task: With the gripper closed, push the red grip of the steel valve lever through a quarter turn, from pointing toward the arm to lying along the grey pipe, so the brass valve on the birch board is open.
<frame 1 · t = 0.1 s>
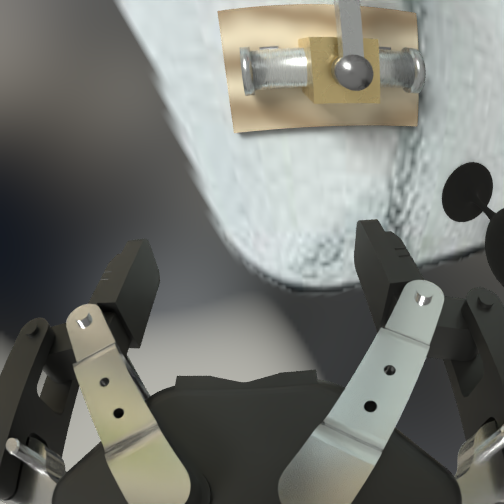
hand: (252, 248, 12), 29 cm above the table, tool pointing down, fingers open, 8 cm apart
valve: (336, 67, 28), on the mounting board, point 6 cm above the table
wine glass: (467, 191, 42), on the table
mounting board: (325, 64, 32), on the table
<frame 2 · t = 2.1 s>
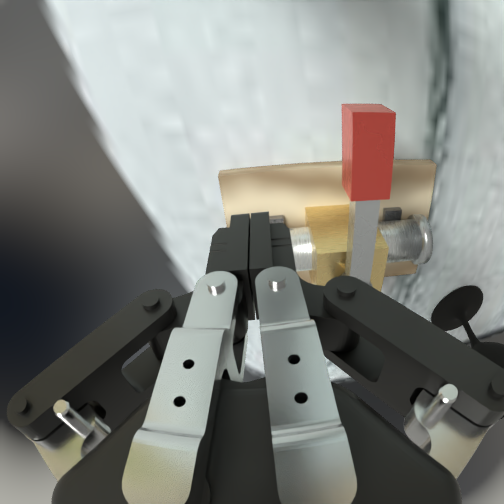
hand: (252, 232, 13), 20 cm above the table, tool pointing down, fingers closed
valve: (342, 252, 32), on the mounting board, point 6 cm above the table
valve lever: (362, 222, 23), point 11 cm above the table, hinge at 0.0°
wine glass: (457, 307, 45), on the table
mounting board: (331, 223, 36), on the table
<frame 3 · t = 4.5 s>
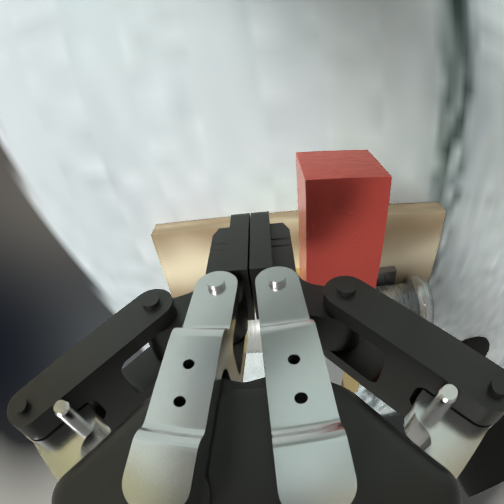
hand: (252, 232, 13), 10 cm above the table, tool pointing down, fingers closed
valve: (312, 332, 24), on the mounting board, point 6 cm above the table
valve lever: (330, 329, 16), point 11 cm above the table, hinge at 0.7°, touching gripper
wine glass: (458, 358, 38), on the table
mounting board: (304, 284, 29), on the table
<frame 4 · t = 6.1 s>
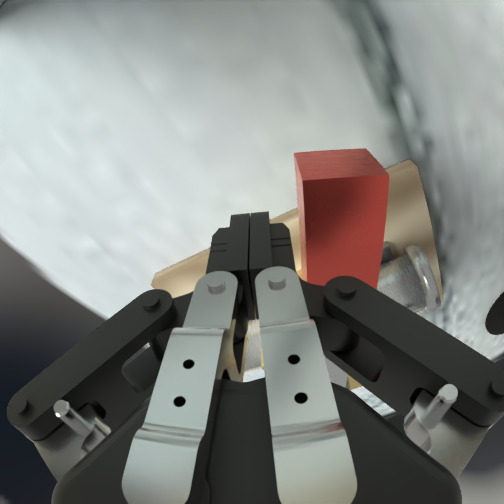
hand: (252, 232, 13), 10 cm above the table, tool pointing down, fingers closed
valve: (317, 332, 24), on the mounting board, point 6 cm above the table
valve lever: (333, 329, 15), point 11 cm above the table, hinge at 21.5°, touching gripper
mounting board: (309, 284, 28), on the table
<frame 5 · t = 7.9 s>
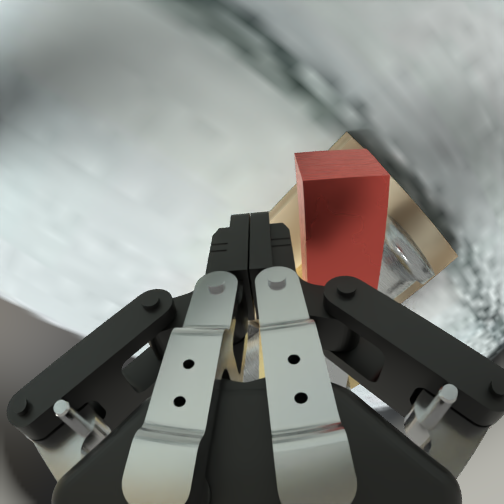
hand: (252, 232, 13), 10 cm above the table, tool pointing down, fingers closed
valve: (318, 332, 24), on the mounting board, point 6 cm above the table
valve lever: (333, 330, 15), point 11 cm above the table, hinge at 44.3°, touching gripper
mounting board: (310, 284, 28), on the table
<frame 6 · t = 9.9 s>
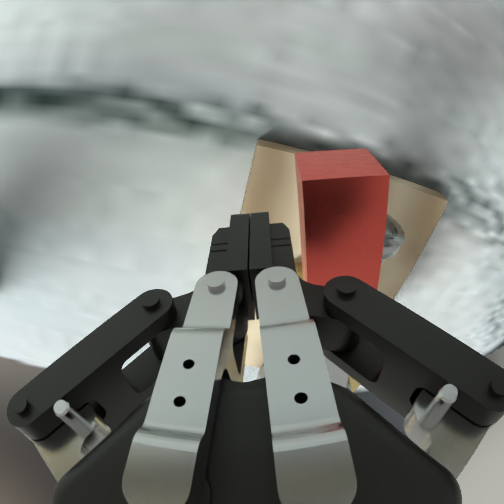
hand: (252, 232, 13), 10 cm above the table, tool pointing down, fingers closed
valve: (319, 332, 24), on the mounting board, point 6 cm above the table
valve lever: (334, 329, 15), point 11 cm above the table, hinge at 70.0°, touching gripper
mounting board: (311, 284, 28), on the table
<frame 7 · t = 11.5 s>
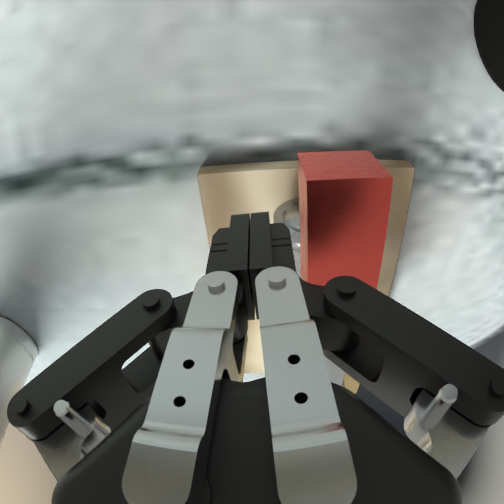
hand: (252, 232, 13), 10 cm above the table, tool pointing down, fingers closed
valve: (313, 332, 24), on the mounting board, point 6 cm above the table
valve lever: (330, 330, 15), point 11 cm above the table, hinge at 88.5°, touching gripper
mounting board: (305, 284, 29), on the table
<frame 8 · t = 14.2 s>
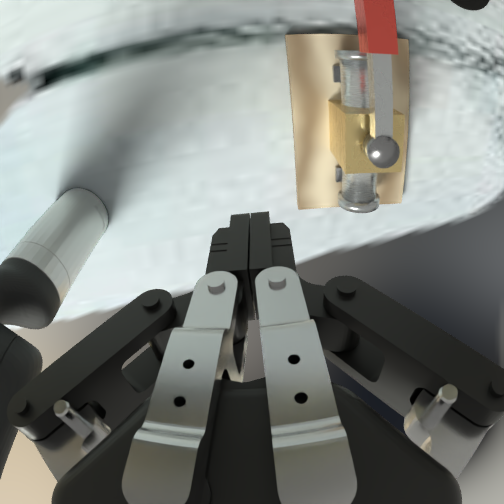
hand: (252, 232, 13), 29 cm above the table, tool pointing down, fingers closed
valve: (363, 133, 33), on the mounting board, point 6 cm above the table
valve lever: (380, 79, 24), point 11 cm above the table, hinge at 88.6°
mounting board: (350, 121, 38), on the table
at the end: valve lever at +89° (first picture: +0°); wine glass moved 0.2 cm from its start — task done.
